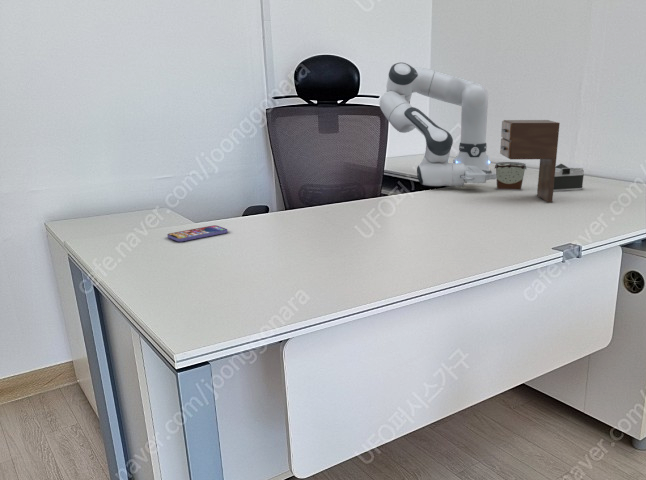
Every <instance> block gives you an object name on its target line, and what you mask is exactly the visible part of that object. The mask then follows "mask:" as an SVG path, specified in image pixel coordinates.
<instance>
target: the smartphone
mask: <svg viewBox="0 0 646 480" xmlns="http://www.w3.org/2000/svg"><path fill="white" fill-rule="evenodd" d="M227 233H228V229H227V228H225V227H222V226H220V225H215V224H214V225H208V226H207V225H206V226H203V227H198V228H191V229H185V230H180V231H175V232H170V233H167V234H166V235H167V238H168V239H171V240H174V241H176V242H186V241H192V240H195V239H196V240H197V239H201V238H206V237H212V236H216V235H221V234H227Z"/></svg>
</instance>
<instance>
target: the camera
mask: <svg viewBox="0 0 646 480" xmlns="http://www.w3.org/2000/svg"><path fill="white" fill-rule="evenodd" d="M584 174H585V169H584V168H583V167H581V166H579V167H578V166H577V167H568V166H566V165H565V164H563V163H559V164H556V168H555V178H554V189H553V192H561V191H562V192H564V191H577V190H579V191H580V190H583V188H584V186H583V184H584V176H585V175H584Z"/></svg>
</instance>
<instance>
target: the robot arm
mask: <svg viewBox="0 0 646 480" xmlns="http://www.w3.org/2000/svg"><path fill="white" fill-rule="evenodd" d="M414 93H416V94H419V95H421V96H424V97H427V98H430V99H434V100H438V101H441V102H444V103H447V104H452V105H456V106H459V107H461V110H460V111H461V114H460V115H461V116H460V117H461V119H460V142H459V145H458V153H457V155H456V157H455V158H454V159H453V160H452V162H450V163H449V160H450V156H451V155H450V154H451V149H452V146H453V143H454V139H453V136H452V134H451V133H450V132H449V131H447V130H446V129H445V128H442V127H440V126H439V125H438V124H436V123H435V122H434V121H433V120H432V119H431V118H429V117H428V116H427V115H426V114H425V113H424V112H423V111H422V110H420V109H419V108H417V107H414V106H413V105H412V104H410V103H411V97H412V95H413V94H414ZM378 104H379V108H380V110H381V112H382V114H383V115H384V117H385V119H386V120H387V121H388V122H389V124H390V125H391V126H392V127H393V128H394V129H395V130H396V131H397V132H399V133H403V134H405V133H410V132H411V131H414V130H415V129H416V130H417V131H418V132H419V133H421V135H422V136H424V139H425V150H424V151H425V152H424V156H423V158H422V161H421V162H420V163H419V164H418V165H417V166H416V167H417V168H416V177H417V180H418V183H419V184H420V185H423V186H427V187H443V186H448V187H463V186H464V185H465V184H467V183H468V184H486V183H487V181H490V180H497V179H496V176H497V175H496V173H493V171H492V170H490V164H491V161H490V156H489V154H488V153H487V148H488V146H487V125H488V124H487V123H488V108H489V93H488V90H487V88H486V86H484V85H483V84H481V83H479V82H476V81H472V80H469V79H465V78H462V77H459V76H455V75H452V74H449V73H445V72H441V71H439V70H435V69H430V68H427V67H426V68H425V67H413V66H412V65H410V64H409V63H406V62H396V63H394V64H392V65H391V67H390V69H389V71H388V77H387V82H386V92H385V93H383V94H382V96H381V97H380V99H379V103H378Z"/></svg>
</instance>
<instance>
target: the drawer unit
mask: <svg viewBox="0 0 646 480" xmlns="http://www.w3.org/2000/svg"><path fill="white" fill-rule="evenodd" d="M560 124H561V123H560V122H558V121H554V120H549V119H503V120H502V121H501V131H500V133H501V134H500V149H499V154H500V155H502V156H503V157H505V158H507V159H508V160H539V167H538V179H537V192H536V195H537V196H538V198H541V199H542V200H543V201H545V202H546V203H548V204H552V203H553V198H554V191H553V189H554V178H555V168H556V166H557V157H558V156H557V155H558V147H559V146H558V145H559V135H560V134H559V133H560Z"/></svg>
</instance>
